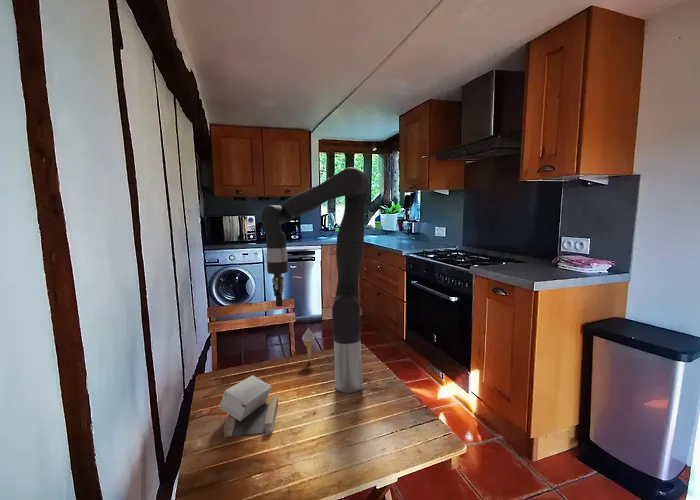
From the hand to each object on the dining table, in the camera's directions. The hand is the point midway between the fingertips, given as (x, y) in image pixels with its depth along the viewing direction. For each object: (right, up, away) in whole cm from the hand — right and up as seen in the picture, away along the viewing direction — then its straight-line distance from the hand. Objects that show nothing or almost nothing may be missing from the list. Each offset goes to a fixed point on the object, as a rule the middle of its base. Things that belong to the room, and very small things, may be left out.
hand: (279, 305), depth 123 cm
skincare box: (-3, -25, -14) cm, 29 cm away
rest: (-3, -30, -25) cm, 39 cm away
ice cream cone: (+10, -26, +14) cm, 31 cm away
